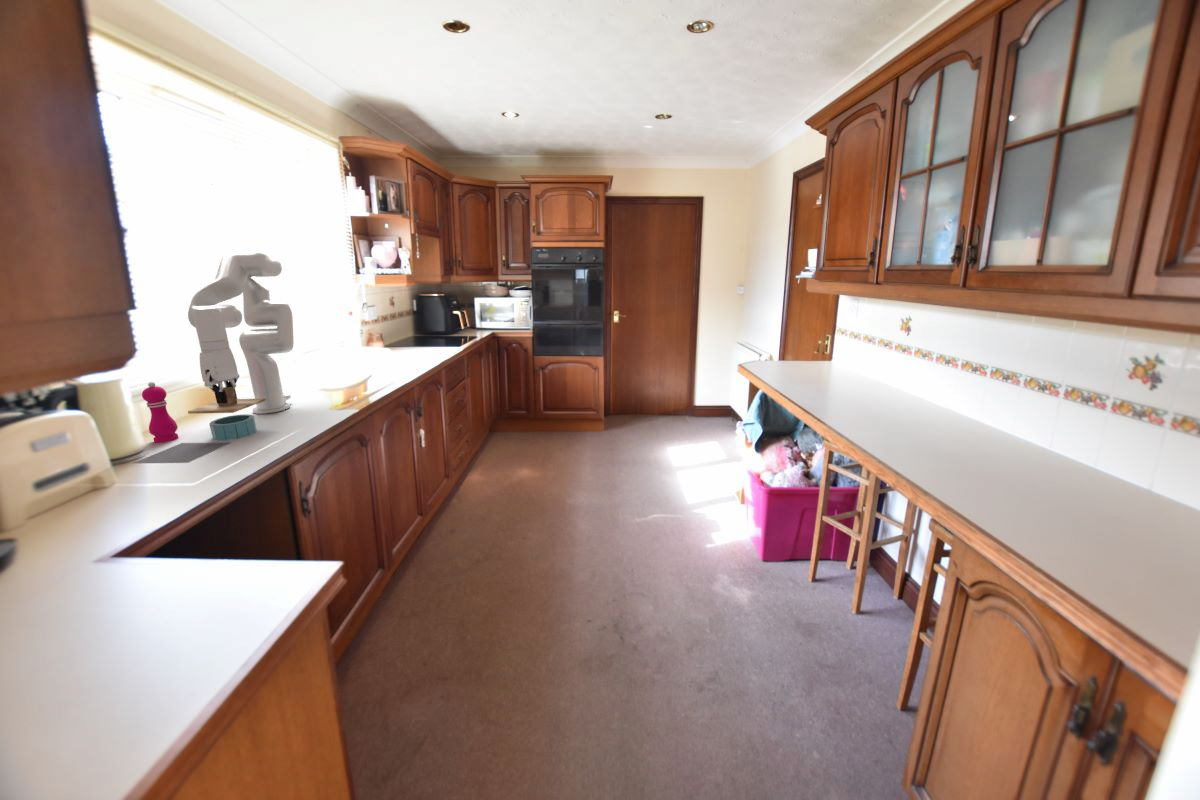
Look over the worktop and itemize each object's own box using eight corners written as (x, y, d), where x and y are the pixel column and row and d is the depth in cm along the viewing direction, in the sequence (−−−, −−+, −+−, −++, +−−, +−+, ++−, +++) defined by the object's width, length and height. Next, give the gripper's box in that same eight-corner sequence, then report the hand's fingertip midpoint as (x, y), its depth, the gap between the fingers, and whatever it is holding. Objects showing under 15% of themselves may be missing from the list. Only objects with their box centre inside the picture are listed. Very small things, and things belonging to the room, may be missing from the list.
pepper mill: (156, 446, 166) (139, 385, 161) (149, 442, 170) (133, 383, 165) (183, 439, 171) (168, 381, 166) (176, 436, 176) (161, 378, 170)
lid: (224, 401, 179) (220, 383, 178) (265, 400, 178) (262, 382, 176) (188, 413, 165) (183, 394, 163) (233, 412, 164) (228, 393, 162)
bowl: (232, 429, 180) (228, 414, 179) (264, 429, 180) (261, 414, 178) (204, 441, 169) (200, 425, 167) (239, 441, 168) (235, 425, 167)
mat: (182, 444, 167) (181, 442, 167) (232, 443, 166) (231, 442, 166) (133, 464, 150) (132, 463, 150) (188, 464, 149) (187, 462, 149)
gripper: (223, 342, 175) (235, 395, 179) (182, 350, 159) (196, 408, 163) (244, 342, 174) (255, 395, 179) (205, 350, 158) (218, 408, 163)
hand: (227, 400), depth 171 cm, fingers closed on lid, 3 cm apart
